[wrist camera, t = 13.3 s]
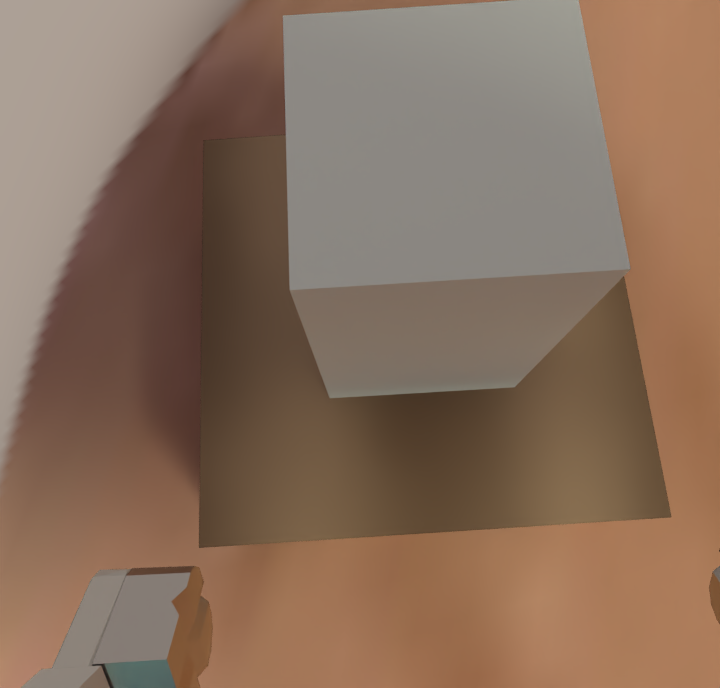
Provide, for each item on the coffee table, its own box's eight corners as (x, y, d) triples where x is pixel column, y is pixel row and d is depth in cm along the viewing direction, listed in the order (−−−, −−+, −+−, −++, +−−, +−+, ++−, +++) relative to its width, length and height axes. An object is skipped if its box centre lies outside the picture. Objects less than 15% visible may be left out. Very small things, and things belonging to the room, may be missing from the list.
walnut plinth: (555, 182, 23) (592, 113, 19) (613, 519, 20) (671, 517, 16) (232, 204, 23) (203, 140, 19) (233, 543, 20) (198, 547, 16)
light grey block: (493, 220, 18) (577, -4, 10) (514, 387, 17) (630, 269, 9) (322, 230, 18) (282, 16, 11) (329, 398, 17) (289, 290, 9)
